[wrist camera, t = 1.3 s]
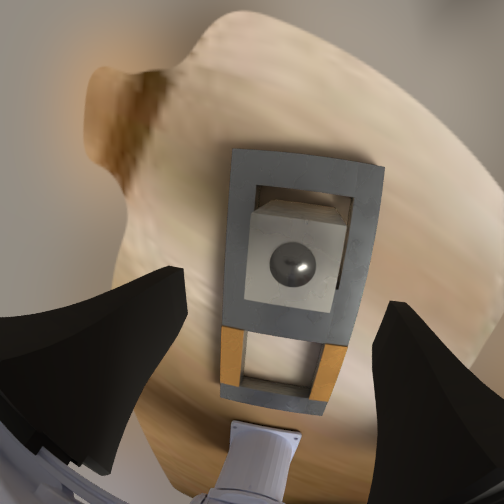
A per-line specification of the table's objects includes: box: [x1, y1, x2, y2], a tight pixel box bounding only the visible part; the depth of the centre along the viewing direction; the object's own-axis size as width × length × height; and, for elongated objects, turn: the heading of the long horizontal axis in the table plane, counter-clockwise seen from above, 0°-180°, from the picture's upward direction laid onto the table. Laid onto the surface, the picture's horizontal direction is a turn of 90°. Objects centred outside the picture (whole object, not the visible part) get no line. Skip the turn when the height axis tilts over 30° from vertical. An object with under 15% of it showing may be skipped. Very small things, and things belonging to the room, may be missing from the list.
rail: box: [220, 149, 385, 416], centre depth 20 cm, size 22×10×2 cm, turn 175°
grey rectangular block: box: [244, 199, 347, 313], centre depth 16 cm, size 4×4×7 cm
